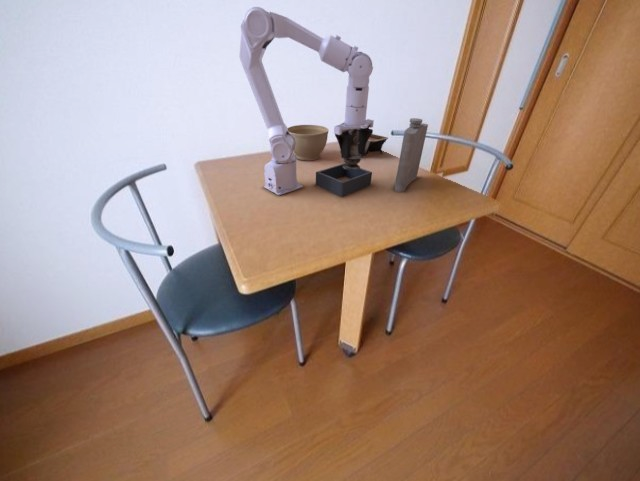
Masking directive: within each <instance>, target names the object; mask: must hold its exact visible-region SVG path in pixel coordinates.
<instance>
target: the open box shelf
mask: <svg viewBox="0 0 640 481" xmlns="http://www.w3.org/2000/svg"><path fill="white" fill-rule="evenodd" d="M345 164H346V163H345V162H343V163H340V164H337V165H333V166H330V167H327V168H324V169H322V170H318V171H315V186H317V187H318V188H320V189H322V190H325V191H327V192H329V193H332V194H333V195H336V196H338V197H341V198H344V197H346V196H348V195H351V194H354V193H356V192H358V191H361V190H363V189H366V188H367V187H370V186H371V185H372V178H373V172H372V171H371V170H367V169H364V168H362V167H360V169H358V170H346V169H344V168H343V165H345ZM341 178H347V179H346V180H344V181H343V180H340V179H341Z"/></svg>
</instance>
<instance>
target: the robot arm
mask: <svg viewBox="0 0 640 481" xmlns="http://www.w3.org/2000/svg"><path fill="white" fill-rule="evenodd" d="M288 38H289V39H291V40H292V41H294V42H297V43H298V44H301V45H303V46H305V47H307V48H309V49H311V50H312V51H315V52H317V53H318V55H319V59H320V61H321V62H322V63H325V64H326V65H328V66H330V67H332V68H333V69H336V70H338V71H340V72H342V73H348V80H347V86H346V94H345V96H346V98H345V112H344V122H341V123H339V124H337V125H334V127H333V134H334V136H335V138H336V141H337V143H338V145H339V146H338V147H339V150H340V155H341V159H343V158H344V159H348V158H349V155H350V148H351V144H352V141H353V138H354V136H353V135H350V133H349V132H350V131H353V130H355V129H357V130H358V131H359V140H358V141H359V142H360V143H359V144H358V153H359V154H361V155H362V154H363V151H364V149H365V146H366V143H367V141H368V139H369V137H370V136H371V134H374V133H373V132H374V129H373V128H374V121H375V120H373V119H370V118H368V119H367V110H368V103H369V102H368V101H369V92H370V87H369V84H370V76H371V75H372V73H373V70H374V66H373V61H372V58H371V57H370V55H368V54H367V53H365V52H363V51H358V50H359V47H358V46H356V45H354V46H352V45H350V44H348V43H347V42H345V41H343V40H341V39H342V37H341V36H340V35H338V34H336V35H335V36H334V35H332V34H331V35H330V34H329V35H328V36H326V37H321V36H320V35H318V34H317V33H315V32H313V31H312V30H310V29H307V28H306V27H304V26H302V25H301V24H300V23H297V22H296V21H294V20H293V19H291V18H289V17H287V16H284V15H282V14H279V13H276V12H273V11H271V10H269V11H268V10H265V9H264V8H263V7H260V6H252V7H250V8H249V9H248V10H247V11H246V13H245V14H244V16H243V19H242V21H241V23H240V45H239V60H240V63H241V66H242V69H243V70H244V73H245V75H246V78H247V81H248V83H249V86H250V89H251V91H252V94H253V96H254V98H255V101H256V104H257V106H258V109H259V111H260V114H261V116H262V119H263V122H264V124H265V127H266V129H267V137H268V142H269V144H270V149H269V150H270V151H269V152H270V155H271V160H270V161H269V162H267V163H265V164H264V167H263V174H264V184H265V185H264V186H263V188H264V189H266V190H267V191H269V192H272V193H273V194H275V195H277V196H282V195H284V194H287V193H290V192H294V191H296V190H299V189H302V188H303V186H304V185H303V184H300V183H298V179H297V178H298V177H297V157H296V154H295V153H294V152H293V150H294V148H295V145H296V143H295V139H294V137H293V136H292V135H291V134H290V133H289V131H288V129H287V128H288V127H287V126H288V125H287V124H286V123H285V122H284V118H283V116H282V113H281V111H280V108H279V104H278V102H277V100H276V97H275V94H274V91H273V89H272V86H271V83H270V80H269V77H268V74H267V72H266V68H265V65H264V63H263V58H264V55H265V53H266V50H267V48H268V46H269V45H270V44H271V43H272V42H273V40H275V39H288ZM344 159H343V160H344Z"/></svg>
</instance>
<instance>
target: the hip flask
mask: <svg viewBox="0 0 640 481" xmlns="http://www.w3.org/2000/svg"><path fill="white" fill-rule="evenodd" d="M428 127H429V123H423V119H422V118H417V117H413V118H409V127H407V128H406V129H405V130H404V131H403V136H402V143H401V149H400V154H399V161H398V166H397V171H396V177H395V182H394V188H393V190H394V191H395V192H398V193H403V192H405V191H406V188H407V187H408V186H409V185H410V183H411V182H413V181H414V180H416V179H417V178H418V174H419V173H418V172H419V169H420V163H421V159H422V155H423V150H424V145H425V141H426V137H427V132H428Z"/></svg>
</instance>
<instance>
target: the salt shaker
mask: <svg viewBox="0 0 640 481" xmlns="http://www.w3.org/2000/svg"><path fill="white" fill-rule="evenodd" d="M349 133H350V135H353V136H354V138H353V141H352V144H351V148H350V155H349V158H348V159H344V158H342V159H343V163H346V164H345V165H343V168H344V169H346V170H358V169H360V168H361V166H360V165H359V163H360V162H361V159H362V158H363V156H362V155H361V154H359V153H358V144H359V143H360V142H359V141H358V140H359V131H358V130H357V129H355V130H353V131H350V132H349Z"/></svg>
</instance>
